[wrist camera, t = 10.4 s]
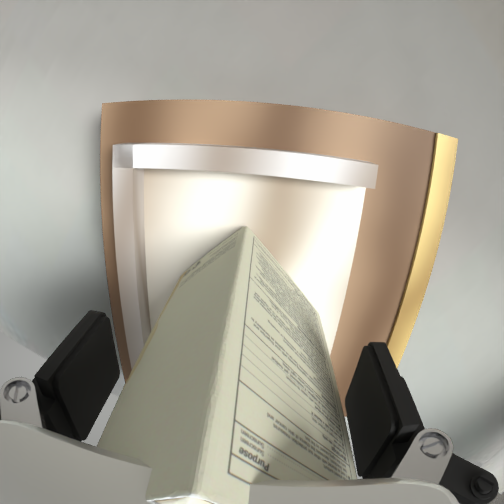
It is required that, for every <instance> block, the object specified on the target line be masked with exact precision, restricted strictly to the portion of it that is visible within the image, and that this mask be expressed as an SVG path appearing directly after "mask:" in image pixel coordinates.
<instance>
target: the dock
mask: <svg viewBox="0 0 504 504" xmlns="http://www.w3.org/2000/svg"><path fill="white" fill-rule="evenodd" d="M457 143H458V139H456V138H453V137H450V136H446V135H443V134H439V133H434V132H431V131H427V130H423V129H419V128H415V127H411V126H407V125H403V124H398V123H394V122H390V121H385V120H380V119H375V118H370V117H365V116H360V115H354V114H348V113H342V112H336V111H330V110H323V109H316V108H308V107H300V106H291V105H282V104H271V103H259V102H244V101H225V100H147V101H127V102H113V103H102V115H101V141H100V185H101V212H102V229H103V242H104V254H105V264H106V273H107V281H108V289H109V297H110V304H111V310H112V317H113V323H114V329H115V335H116V340H117V346H118V351H119V356H120V361H121V365H122V370H123V375H124V379H125V383H126V381H127V379H128V378H129V375H130V373H131V371H132V369H133V367H134V365H135V363H136V361H137V359H138V357H139V355H140V353H141V351H142V349H143V347H144V345H145V343H146V341H147V339H148V337H149V335H150V333H151V331H152V329H153V327H154V325H155V323H156V322H157V320H158V318H159V316H160V314H161V312H162V310H163V308H164V306H165V304H166V302H167V300H168V299H169V297H170V295H171V293H172V291H173V289H174V288H175V286H176V284H177V282H178V280H179V278H180V276H181V275H182V274H183V273H184V272H186V271H187V270H188V269H189V268H190V267H192V266H193V265H194V264H195V263H196V262H197V261H199V260H200V259H201V258H202V257H204V256H205V255H206V254H208V253H209V252H210V251H212V250H213V249H214V248H215V247H217V246H218V245H219V244H221V243H222V242H223V241H225V240H226V239H227V238H229V237H230V236H232V235H233V234H234V233H236V232H237V231H238V230H240V229H241V228H242V227H245V226H247V227H248V228H249V229H250V230H251V231H252V232H253V233H254V234H255V235H256V237H257V238H258V239H259V240H260V241H261V242H262V243H263V245H264V246H265V247H266V248H267V249H268V250H269V252H270V253H271V254H272V255H273V256H274V258H275V259H276V260H277V261H278V262H279V264H280V265H281V266H282V267H283V269H284V270H285V271H286V272H287V273H288V275H289V276H290V277H291V278H292V280H293V281H294V282H295V283H296V285H297V286H298V287H299V288H300V290H301V291H302V292H303V293H304V295H305V296H306V297H307V299H308V300H309V301H310V302H311V304H312V305H313V306H314V308H315V309H316V310H317V312H318V313H319V316H320V319H321V323H322V327H323V331H324V335H325V339H326V343H327V347H328V350H329V354H330V358H331V362H332V366H333V370H334V375H335V379H336V383H337V387H338V391H339V396H340V400H341V404H342V409H343V413H344V416H347V413H346V408H345V397H346V394H347V391H348V389H349V386H350V383H351V381H352V378H353V375H354V372H355V369H356V367H357V364H358V361H359V358H360V355H361V352H362V349H363V347H364V346H368V344H369V342H385V343H386V345H387V347H388V349H389V352H390V354H391V356H392V358H393V361H394V363H395V365H396V368H397V367H398V365H399V362H400V360H401V358H402V355H403V353H404V350H405V348H406V345H407V343H408V340H409V337H410V335H411V332H412V329H413V327H414V324H415V321H416V318H417V316H418V313H419V310H420V307H421V304H422V301H423V298H424V295H425V291H426V288H427V285H428V282H429V278H430V275H431V272H432V268H433V264H434V261H435V257H436V253H437V250H438V246H439V242H440V238H441V233H442V229H443V225H444V220H445V216H446V211H447V206H448V201H449V196H450V190H451V185H452V179H453V172H454V166H455V159H456V151H457Z"/></svg>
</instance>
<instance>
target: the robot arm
mask: <svg viewBox="0 0 504 504" xmlns="http://www.w3.org/2000/svg"><path fill="white" fill-rule="evenodd" d="M119 375H120V370H119V365H118V360H117V356H116V351H115V346H114V341H113V335H112V330H111V324H110V319H109V318H108V317H106V315H105V313H103V312H97V311H92V310H91V311H89V312H88V313H87V314H86V315H85V316H84V317H83V319H82V320H81V321H80V322H79V323H78V324H77V325H76V327H75V328H74V329H73V330H72V331H71V332H70V333H69V335H68V336H67V337H66V338H65V339H64V340H63V342H62V343H61V344H60V345H59V346H58V348H57V349H56V350H55V351H54V352H53V354H52V355H51V356H50V357H49V358H48V360H47V361H46V362H45V363H44V365H43V366H42V367H41V368H40V370H39V371H38V372H37V373H36V374H35V378H34V379H33V381H31V380H29V379H27V378H24V377H16V378H13V379H10V380H8V381H7V382H6V383H5V384H4V385H3V386H2V388H1V390H0V504H160V503H158V502H156V501H146V497H145V495H146V491H147V487H148V483H149V479H150V475H151V472H152V468H151V467H149V466H148V465H146V464H145V463H143V462H142V461H140V460H139V459H137V458H133V457H129V456H125V455H122V454H118V453H115V452H111V451H108V450H105V449H102V448H99V447H95V446H92V445H89V444H86V443H83V442H81V441H82V440H85V439H86V438H87V436H88V434H89V432H90V431H91V429H92V427H93V425H94V423H95V421H96V419H97V417H98V415H99V413H100V412H101V410H102V408H103V406H104V404H105V402H106V400H107V399H108V397H109V395H110V393H111V391H112V389H113V388H114V386H115V384H116V382H117V380H118V378H119ZM345 408H346V413H347V418H348V423H349V429H350V434H351V439H352V445H353V450H354V456H355V461H356V467H357V472H358V475H359V476H362V477H363V479H354V480H315V481H304V480H273V479H271V480H266V481H261V482H257V483H253V484H250V491H249V502H248V504H504V492H503V493H502V494H500V493H498V489H499V487H498V482H497V480H496V478H495V477H494V475H493V474H491V473H490V472H488V471H486V470H484V469H482V468H480V467H478V466H476V465H474V464H472V463H470V462H468V461H466V460H464V459H463V458H461V457H459V456H457V455H455V454H453V453H452V452H453V443H452V441H451V439H450V437H449V436H448V435H447V434H446V433H444V432H443V431H441V430H438V429H432V428H429V429H425V428H424V426H423V423H422V421H421V418H420V416H419V413H418V411H417V408H416V406H415V403H414V401H413V398H412V396H411V394H410V391H409V389H408V387H407V384H406V382H405V380H404V378H403V377H401V376H400V375H399V372H398V370H397V368H396V365H395V363H394V361H393V358H392V356H391V354H390V352H389V349H388V347H387V345H386V343H385V342H369V344H368V346H364V347H363V349H362V352H361V355H360V358H359V361H358V364H357V367H356V369H355V372H354V375H353V378H352V381H351V383H350V386H349V389H348V391H347V394H346V397H345Z"/></svg>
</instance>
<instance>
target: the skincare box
mask: <svg viewBox="0 0 504 504" xmlns="http://www.w3.org/2000/svg"><path fill="white" fill-rule="evenodd" d="M97 447H99V448H102V449H105V450H108V451H111V452H115V453H118V454H122V455H125V456H129V457H133V458H137V459H139V460H140V461H142V462H143V463H145V464H146V465H148V466H149V467H151V468H152V472H151V475H150V479H149V483H148V487H147V491H146V495H145V497H146V501H156V502H158V503H160V504H248V502H249V491H250V484H253V483H257V482H261V481H266V480H271V479H273V480H304V481H315V480H354V479H357V476H356V471H355V466H354V461H353V456H352V451H351V446H350V441H349V437H348V432H347V427H346V422H345V418H344V413H343V409H342V404H341V400H340V396H339V391H338V387H337V383H336V379H335V375H334V370H333V366H332V362H331V358H330V354H329V350H328V347H327V343H326V339H325V335H324V331H323V327H322V323H321V319H320V316H319V313H318V312H317V310H316V309H315V308H314V306H313V305H312V304H311V302H310V301H309V300H308V299H307V297H306V296H305V295H304V293H303V292H302V291H301V290H300V288H299V287H298V286H297V285H296V283H295V282H294V281H293V280H292V278H291V277H290V276H289V275H288V273H287V272H286V271H285V270H284V269H283V267H282V266H281V265H280V264H279V262H278V261H277V260H276V259H275V258H274V256H273V255H272V254H271V253H270V252H269V250H268V249H267V248H266V247H265V246H264V245H263V243H262V242H261V241H260V240H259V239H258V238H257V237H256V235H255V234H254V233H253V232H252V231H251V230H250V229H249V228H248V227H247V226H245V227H242V228H241V229H240V230H238V231H237V232H236V233H234V234H233V235H232V236H230V237H229V238H227V239H226V240H225V241H223V242H222V243H221V244H219V245H218V246H217V247H215V248H214V249H213V250H212V251H210V252H209V253H208V254H206V255H205V256H204V257H202V258H201V259H200V260H199V261H197V262H196V263H195V264H194V265H193V266H192V267H190V268H189V269H188V270H187V271H186V272H184V273H183V274H182V275H181V276H180V278H179V280H178V282H177V284H176V286H175V288H174V289H173V291H172V293H171V295H170V297H169V299H168V300H167V302H166V304H165V306H164V308H163V310H162V312H161V314H160V316H159V318H158V320H157V322H156V323H155V325H154V327H153V329H152V331H151V333H150V335H149V337H148V339H147V341H146V343H145V345H144V347H143V349H142V351H141V353H140V355H139V357H138V359H137V361H136V363H135V365H134V367H133V369H132V371H131V373H130V375H129V378H128V379H127V381H126V383H125V385H124V388H123V390H122V392H121V394H120V396H119V398H118V401H117V403H116V405H115V407H114V410H113V412H112V414H111V416H110V418H109V420H108V422H107V425H106V427H105V429H104V431H103V434H102V436H101V438H100V440H99V442H98V445H97Z"/></svg>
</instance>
